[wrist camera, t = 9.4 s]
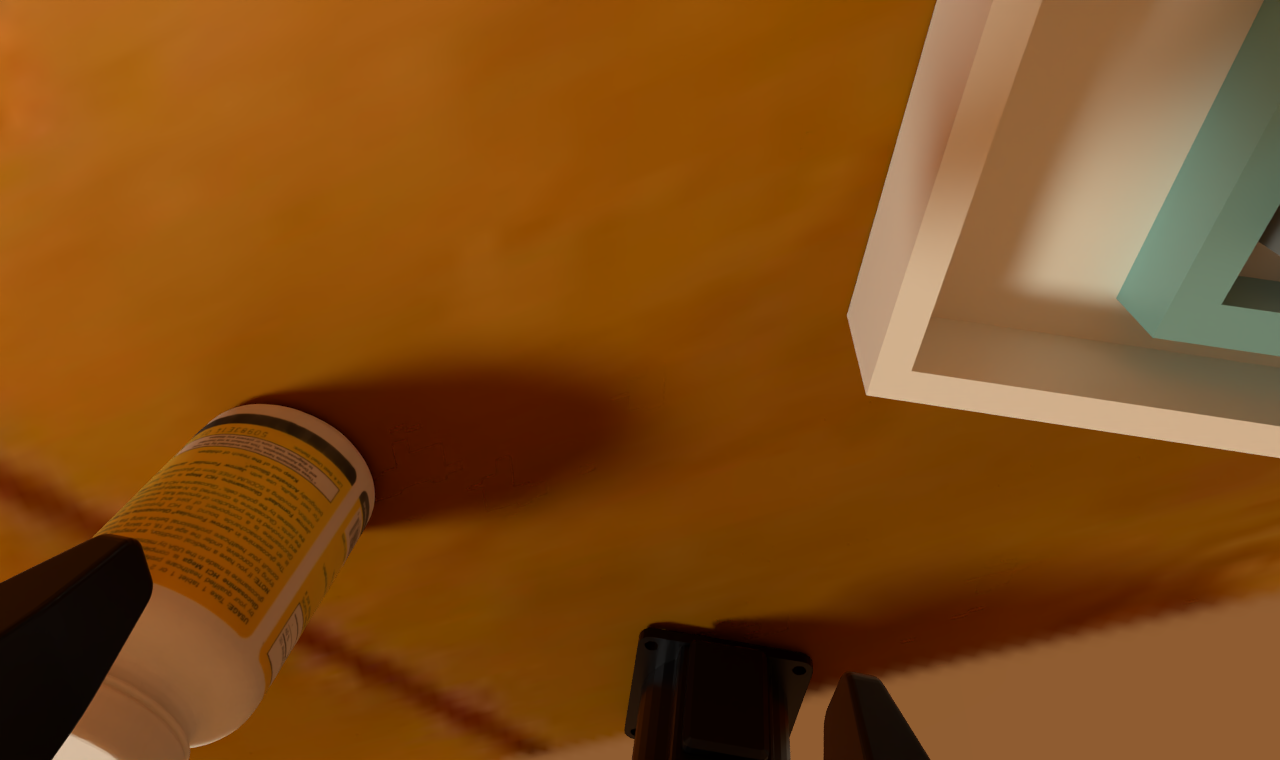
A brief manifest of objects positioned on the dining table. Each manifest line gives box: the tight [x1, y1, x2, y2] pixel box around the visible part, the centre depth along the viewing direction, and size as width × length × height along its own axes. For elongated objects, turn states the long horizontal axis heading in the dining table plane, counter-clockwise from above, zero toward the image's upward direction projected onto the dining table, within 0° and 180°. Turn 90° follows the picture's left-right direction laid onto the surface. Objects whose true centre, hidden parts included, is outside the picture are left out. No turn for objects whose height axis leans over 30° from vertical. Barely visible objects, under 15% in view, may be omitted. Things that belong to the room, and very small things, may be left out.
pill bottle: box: [52, 404, 375, 760], centre depth 22 cm, size 6×6×11 cm
